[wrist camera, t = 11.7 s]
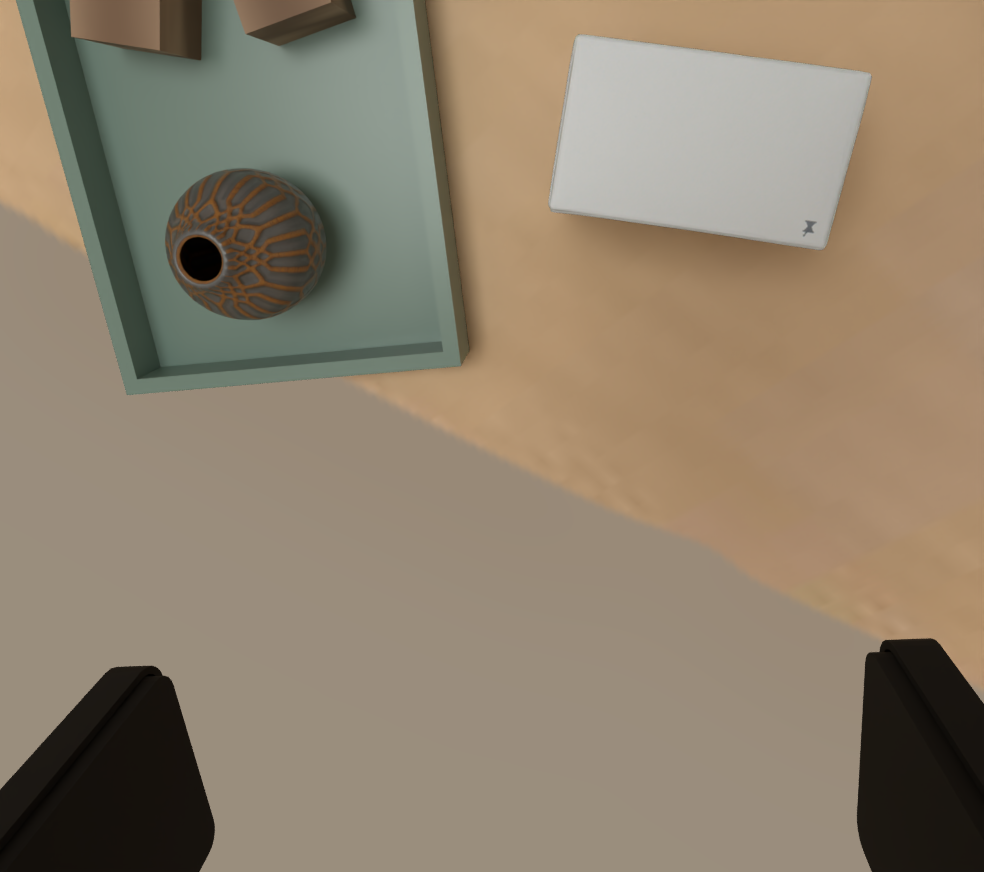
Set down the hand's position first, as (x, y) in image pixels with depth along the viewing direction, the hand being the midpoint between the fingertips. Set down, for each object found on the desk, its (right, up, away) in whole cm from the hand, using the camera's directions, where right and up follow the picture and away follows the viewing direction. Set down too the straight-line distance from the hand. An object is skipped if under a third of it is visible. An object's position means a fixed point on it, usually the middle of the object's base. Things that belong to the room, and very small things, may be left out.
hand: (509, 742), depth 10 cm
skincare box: (+8, +18, +27) cm, 34 cm away
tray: (-12, +18, +29) cm, 36 cm away
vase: (-11, +14, +30) cm, 35 cm away
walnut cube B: (-16, +24, +27) cm, 39 cm away
